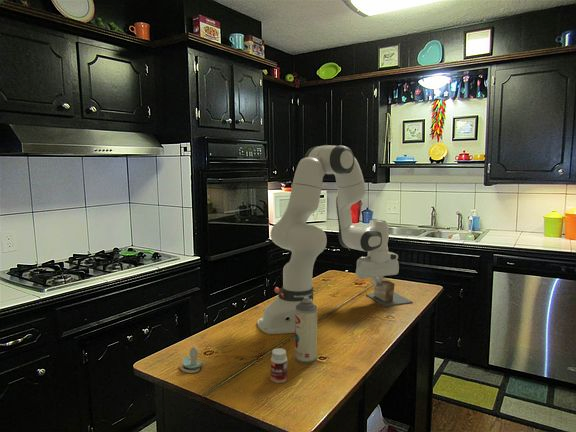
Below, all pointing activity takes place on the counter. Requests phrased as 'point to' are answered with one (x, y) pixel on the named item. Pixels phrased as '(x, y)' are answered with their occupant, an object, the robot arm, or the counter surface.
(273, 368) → the pill bottle
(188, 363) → the pacifier
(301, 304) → the aerosol can
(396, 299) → the rubber mat
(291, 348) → the counter surface
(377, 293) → the wooden block
